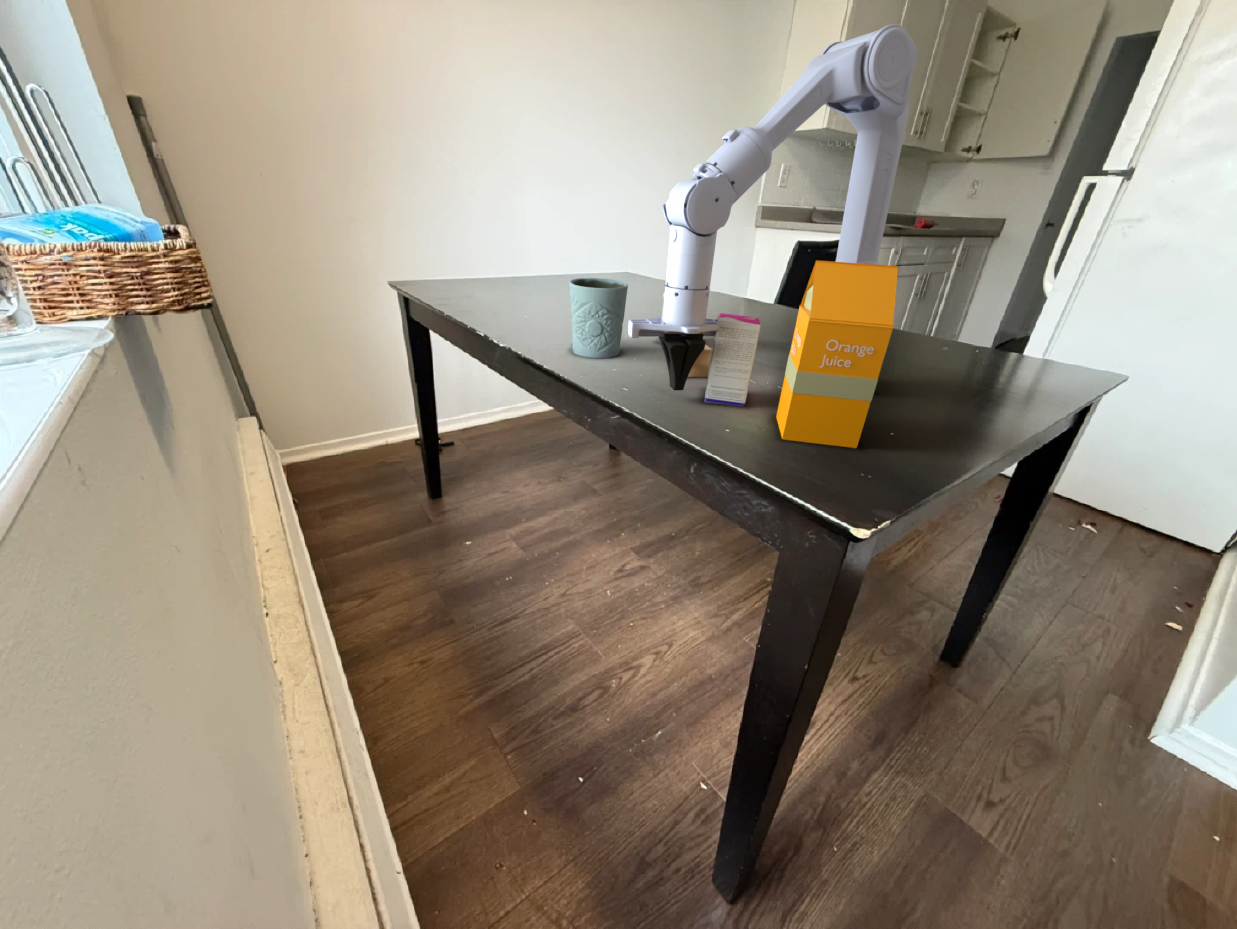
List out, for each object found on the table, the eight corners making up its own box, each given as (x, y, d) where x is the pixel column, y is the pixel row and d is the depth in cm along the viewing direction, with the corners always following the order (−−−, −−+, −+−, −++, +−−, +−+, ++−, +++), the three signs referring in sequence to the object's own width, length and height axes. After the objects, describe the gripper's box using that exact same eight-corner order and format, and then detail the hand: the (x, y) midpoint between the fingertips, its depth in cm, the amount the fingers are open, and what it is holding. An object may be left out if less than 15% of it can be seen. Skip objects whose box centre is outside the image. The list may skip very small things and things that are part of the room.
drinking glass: (599, 341, 98) (601, 276, 93) (636, 354, 92) (640, 285, 86) (557, 349, 92) (557, 280, 86) (593, 363, 86) (595, 289, 80)
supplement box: (746, 407, 70) (761, 324, 65) (703, 402, 71) (715, 320, 66) (745, 394, 76) (759, 315, 70) (705, 389, 76) (716, 311, 71)
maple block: (699, 368, 86) (702, 342, 84) (708, 376, 82) (712, 349, 80) (673, 368, 85) (676, 342, 83) (682, 377, 81) (685, 349, 79)
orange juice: (857, 448, 60) (911, 270, 51) (781, 439, 61) (820, 264, 52) (843, 423, 67) (888, 262, 58) (775, 416, 68) (809, 256, 59)
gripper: (640, 291, 60) (633, 399, 66) (753, 293, 63) (735, 396, 69) (626, 281, 66) (621, 381, 72) (730, 283, 69) (716, 379, 75)
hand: (676, 388), depth 71 cm, fingers closed
